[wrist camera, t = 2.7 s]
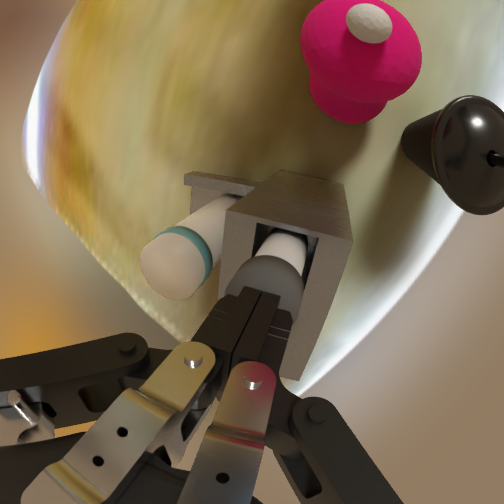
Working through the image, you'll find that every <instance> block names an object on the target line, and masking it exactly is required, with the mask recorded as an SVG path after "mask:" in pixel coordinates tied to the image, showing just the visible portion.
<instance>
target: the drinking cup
mask: <svg viewBox="0 0 504 504" xmlns="http://www.w3.org/2000/svg"><path fill="white" fill-rule="evenodd" d="M402 146H403V150H404V152H405V154H406V155H407V157H408V158H409V159H410V160H411V161H412V162H414V163H415V164H416V165H417V166H419V167H420V168H421V169H422V170H424V171H425V172H426V173H427V174H428V175H429V176H431V177H432V178H433V179H434V180H435V181H436V182H437V183H439V184H440V185H441V186H442V188H443V190H444V191H445V193H446V194H447V196H448V197H449V198H450V199H451V200H452V201H453V202H454V203H455V204H456V205H457V206H459V207H460V208H461V209H463V210H465V211H466V212H469V213H472V214H475V215H488V214H492V213H494V212H497V211H499V210H500V209H502V208H503V207H504V112H503V111H502V110H501V109H500V108H499V107H498V106H497V105H495V104H494V103H493V102H491V101H489V100H487V99H485V98H483V97H480V96H474V95H467V96H462V97H459V98H456V99H454V100H452V101H451V102H449V103H448V104H447V105H446V106H445V107H444V108H443V109H441V110H439V111H437V112H434V113H432V114H430V115H428V116H426V117H423V118H421V119H419V120H417V121H415V122H413V123H411V124H409V125H408V126H407V127H406V128H405V130H404V132H403V135H402Z"/></svg>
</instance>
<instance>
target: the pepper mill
mask: <svg viewBox="0 0 504 504" xmlns="http://www.w3.org/2000/svg"><path fill="white" fill-rule="evenodd" d="M300 43H301V50H302V54H303V58H304V60H305V62H306V64H307V66H308V68H309V70H310V76H309V88H310V92H311V95H312V98H313V100H314V101H315V103H316V104H317V106H318V107H319V108H320V109H321V110H322V111H323V112H324V113H325V114H327V115H328V116H330V117H331V118H333V119H335V120H338V121H341V122H345V123H354V124H356V123H363V122H366V121H369V120H371V119H373V118H374V117H376V116H377V115H378V114H379V113H380V112H381V111H382V110H383V108H384V107H385V105H386V103H387V101H389V100H393V99H394V98H396V97H398V96H400V95H402V94H403V93H405V92H406V91H407V90H408V89H409V88H410V87H411V86H412V85H413V83H414V82H415V80H416V78H417V77H418V75H419V72H420V68H421V64H422V53H421V46H420V42H419V39H418V37H417V35H416V33H415V31H414V30H413V28H412V26H411V25H410V23H409V22H408V21H407V20H406V18H405V17H404V16H403V15H402V14H401V13H400V12H398V11H397V10H396V9H394V8H393V7H391V6H390V5H388V4H386V3H385V2H383V1H380V0H324V1H322V2H320V3H319V4H318V5H317V6H315V7H314V8H313V9H312V10H311V11H310V12H309V14H308V15H307V17H306V18H305V20H304V23H303V26H302V29H301V36H300Z"/></svg>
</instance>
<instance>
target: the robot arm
mask: <svg viewBox="0 0 504 504" xmlns="http://www.w3.org/2000/svg"><path fill="white" fill-rule="evenodd" d="M280 299H281V296H280V295H276V294H273V293H269V292H266V291H263V292H262V290H258V289H255V288H251V287H248V286H244V287H243V289H242V290H241V292H240V294H239V295H238V297H237V296H234V295H231V294H228V295H226V296H224V297H222V298H221V299H219V300H218V302H217V303H216V304H215V306H214V307H213V309H212V310H211V312H210V313H209V315H208V316H207V318H206V319H205V321H204V322H203V323H202V325H201V326H200V328H199V329H198V331H197V332H196V334H195V335H194V337H193V338H192V339H191V341H190V342H185V343H182V344H180V345H178V346H177V347H176V348H174V350H162V349H155V348H148V345H147V342H146V341H145V339H144V338H142V337H141V336H140V335H138V334H135V333H121V334H118V335H113V336H109V337H105V338H101V339H97V340H93V341H88V342H84V343H80V344H75V345H71V346H66V347H62V348H57V349H52V350H48V351H43V352H38V353H33V354H28V355H22V356H17V357H12V358H6V359H0V504H263V503H261V502H260V501H259V500H258V499H257V498H255V497H254V496H252V494H253V491H254V487H255V483H256V479H257V475H258V471H259V467H260V463H261V459H262V455H263V451H264V446H265V445H266V446H267V447H269V448H271V449H272V450H273V453H274V455H275V457H276V459H277V461H278V463H279V465H280V467H281V469H282V471H283V472H284V474H285V476H286V478H287V480H288V482H289V483H290V485H291V487H292V489H293V490H294V492H295V494H296V496H297V497H298V499H299V501H300V502H301V504H404V503H403V502H402V501H401V499H400V498H399V497H398V495H397V494H396V493H395V491H394V490H393V488H392V487H391V486H390V484H389V483H388V481H387V480H386V479H385V477H384V476H383V475H382V473H381V472H380V470H379V469H378V468H377V466H376V465H375V464H374V462H373V461H372V459H371V458H370V456H369V455H368V454H367V452H366V451H365V449H364V448H363V446H362V445H361V444H360V442H359V441H358V439H357V438H356V436H355V435H354V434H353V432H352V431H351V429H350V428H349V426H348V425H347V424H346V422H345V421H344V419H343V418H342V416H341V415H340V413H339V412H338V410H337V409H336V408H335V406H334V405H333V404H332V403H331V402H329V401H328V400H326V399H323V398H320V397H307V398H304V399H301V398H299V397H298V396H296V395H294V394H293V393H291V392H290V391H288V390H287V389H286V388H285V387H284V386H283V384H282V383H281V380H280V377H279V370H280V366H281V363H282V360H283V356H284V353H285V349H286V346H287V342H288V338H289V335H290V331H291V327H292V324H293V319H292V316H291V313H290V311H286V310H283V309H279V308H278V307H279V303H280ZM218 390H219V391H222V392H223V395H222V398H221V400H220V403H219V406H218V408H217V411H216V414H215V417H214V419H213V421H212V424H211V425H210V426H209V427H208V428H207V430H206V433H205V435H204V437H203V440H202V442H201V445H200V448H199V450H198V453H197V455H196V458H195V460H194V463H193V465H192V468H191V470H190V471H186V470H180V469H176V468H177V466H178V465H179V463H180V462H181V460H182V458H183V456H184V453H185V450H186V447H187V445H188V443H189V442H190V440H191V439H192V437H193V435H194V434H195V432H196V431H197V429H198V428H199V426H200V424H201V423H202V421H203V420H204V418H205V416H206V415H207V413H208V412H209V410H210V408H211V406H212V402H213V401H214V399H215V397H216V395H217V392H218ZM95 420H97V421H96V422H95V423H94V424H93V425H92V427H91V428H90V429H89V430H88V431H87V432H80V433H75V434H71V435H67V436H63V437H58V438H54V437H55V433H54V429H57V428H62V427H68V426H73V425H77V424H82V423H87V422H91V421H95Z"/></svg>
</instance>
